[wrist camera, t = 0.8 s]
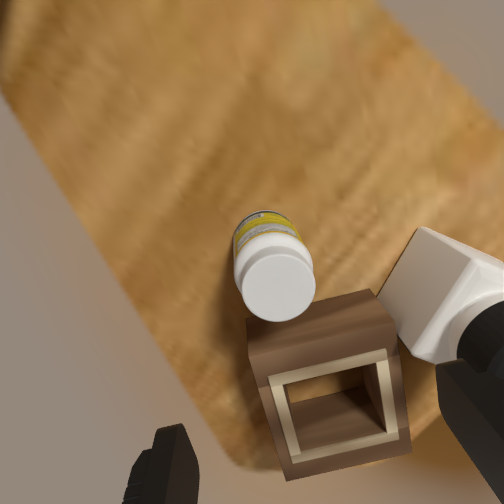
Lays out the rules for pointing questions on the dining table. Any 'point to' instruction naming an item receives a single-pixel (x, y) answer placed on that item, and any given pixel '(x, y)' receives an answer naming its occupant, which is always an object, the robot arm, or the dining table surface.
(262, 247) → the supplement bottle
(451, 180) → the dining table surface
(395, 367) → the socket block
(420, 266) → the medicine bottle
